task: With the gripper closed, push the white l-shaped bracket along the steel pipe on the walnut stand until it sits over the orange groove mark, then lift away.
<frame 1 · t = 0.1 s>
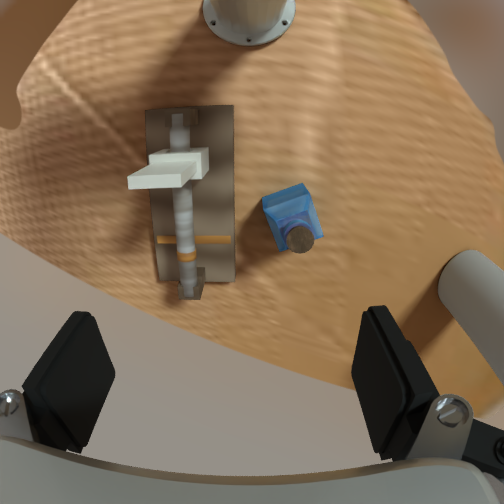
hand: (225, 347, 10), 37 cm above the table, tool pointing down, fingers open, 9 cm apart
pipe stand: (193, 196, 45), on the table
cylinder vase: (461, 277, 51), on the table
white l-shaped bracket: (172, 168, 33), point 11 cm above the table, slide at 0.0 cm
perfume bottle: (289, 208, 46), on the table
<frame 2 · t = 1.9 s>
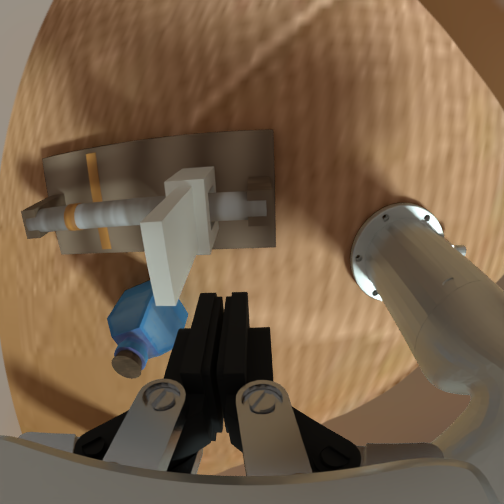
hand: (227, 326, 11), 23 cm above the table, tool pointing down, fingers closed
pipe stand: (153, 193, 33), on the table
white l-shaped bracket: (184, 223, 23), point 11 cm above the table, slide at 0.0 cm
perfume bottle: (156, 301, 39), on the table
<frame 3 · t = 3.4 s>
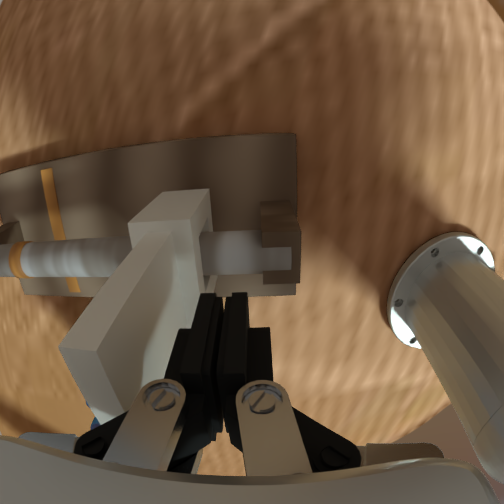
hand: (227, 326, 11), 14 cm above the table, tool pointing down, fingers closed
pipe stand: (129, 220, 24), on the table
white l-shaped bracket: (162, 291, 14), point 11 cm above the table, slide at 0.1 cm, touching gripper
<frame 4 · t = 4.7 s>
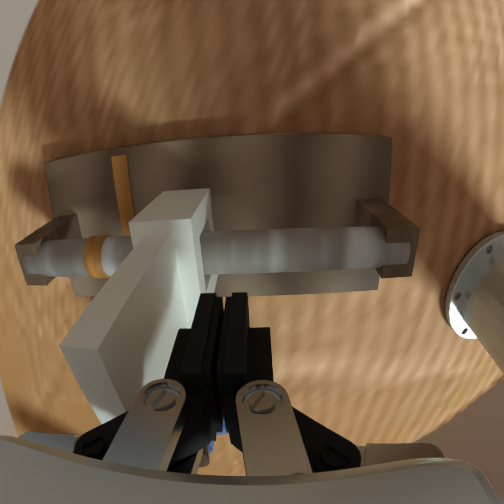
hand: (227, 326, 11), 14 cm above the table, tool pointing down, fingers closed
pipe stand: (211, 215, 24), on the table
white l-shaped bracket: (163, 290, 14), point 11 cm above the table, slide at 6.8 cm, touching gripper
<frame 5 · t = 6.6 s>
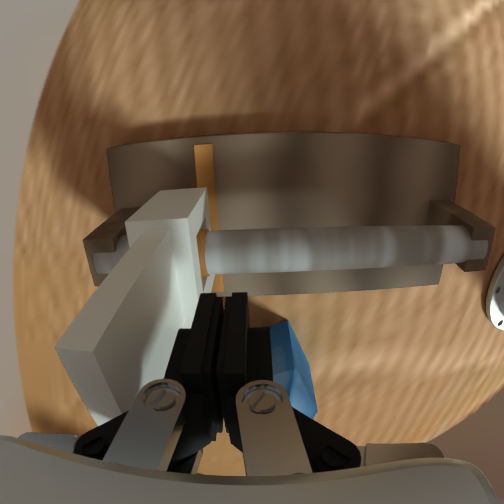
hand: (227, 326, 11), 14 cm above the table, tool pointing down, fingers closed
pipe stand: (292, 211, 24), on the table
white l-shaped bracket: (159, 290, 14), point 11 cm above the table, slide at 13.1 cm, touching gripper
perfume bottle: (268, 352, 30), on the table
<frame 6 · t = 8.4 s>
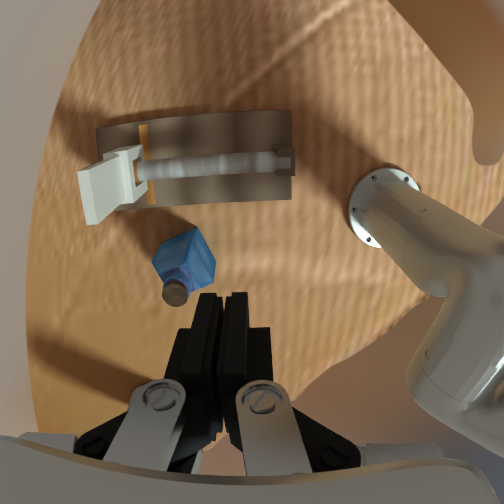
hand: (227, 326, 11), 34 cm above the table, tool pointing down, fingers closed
pipe stand: (192, 158, 41), on the table
white l-shaped bracket: (114, 180, 31), point 11 cm above the table, slide at 13.1 cm
perfume bottle: (189, 251, 47), on the table
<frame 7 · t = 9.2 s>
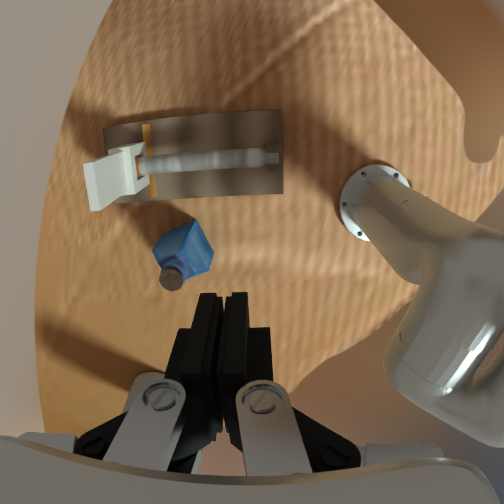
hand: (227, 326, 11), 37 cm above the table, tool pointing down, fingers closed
pipe stand: (192, 155, 45), on the table
cylinder vase: (160, 388, 65), on the table
white l-shaped bracket: (118, 173, 35), point 11 cm above the table, slide at 13.1 cm
perfume bottle: (188, 243, 51), on the table
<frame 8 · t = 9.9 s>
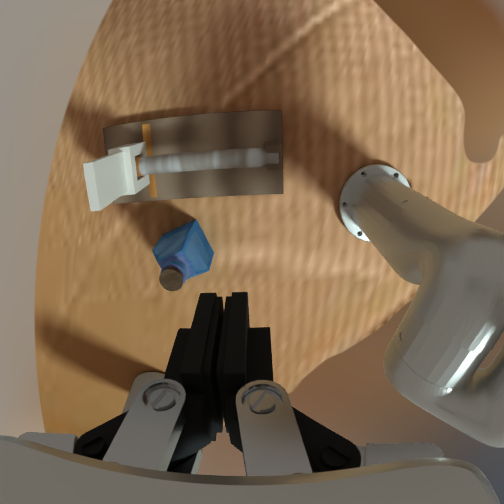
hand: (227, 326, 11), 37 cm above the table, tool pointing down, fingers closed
pipe stand: (192, 155, 45), on the table
cylinder vase: (160, 388, 65), on the table
white l-shaped bracket: (118, 173, 35), point 11 cm above the table, slide at 13.1 cm
perfume bottle: (188, 243, 51), on the table
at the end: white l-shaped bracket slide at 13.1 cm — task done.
